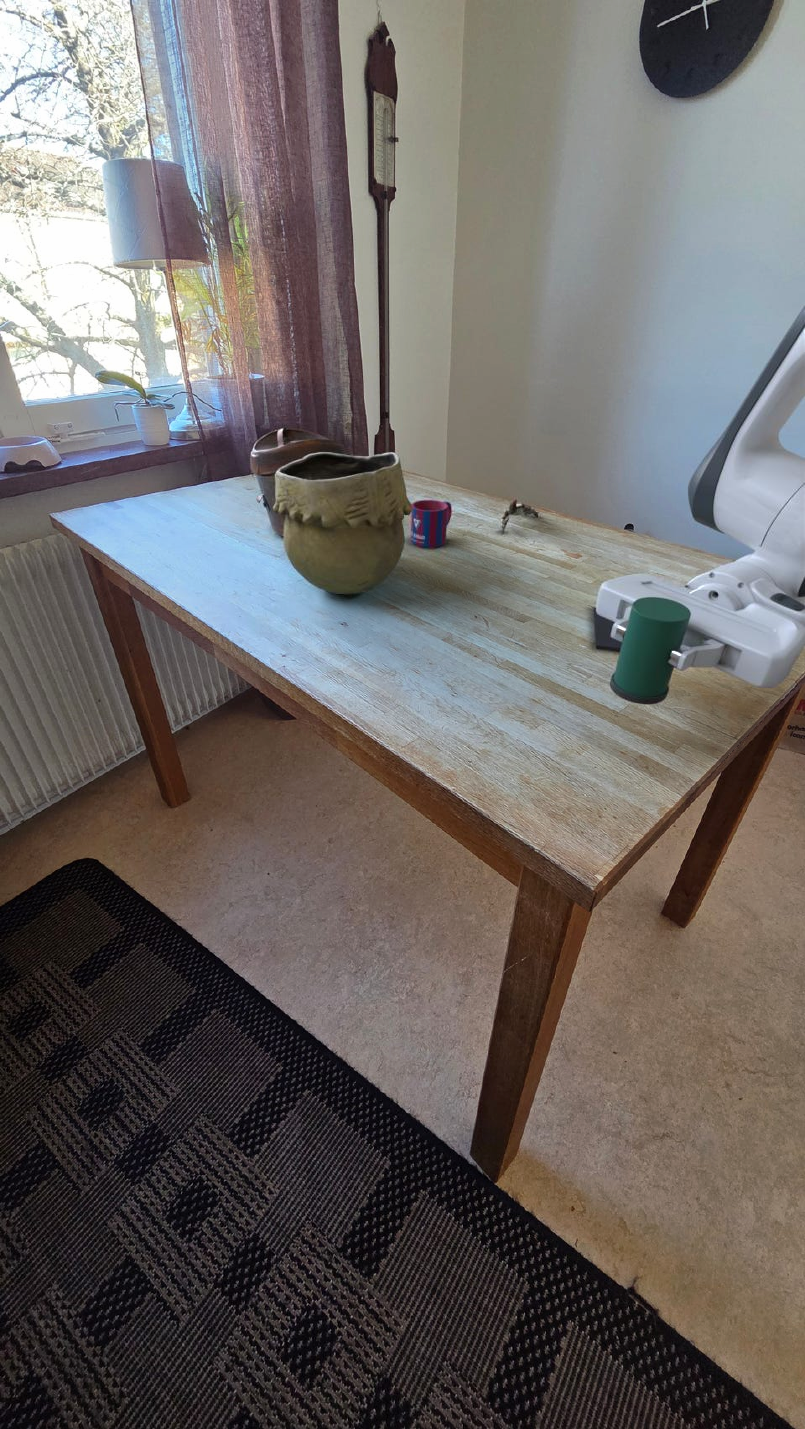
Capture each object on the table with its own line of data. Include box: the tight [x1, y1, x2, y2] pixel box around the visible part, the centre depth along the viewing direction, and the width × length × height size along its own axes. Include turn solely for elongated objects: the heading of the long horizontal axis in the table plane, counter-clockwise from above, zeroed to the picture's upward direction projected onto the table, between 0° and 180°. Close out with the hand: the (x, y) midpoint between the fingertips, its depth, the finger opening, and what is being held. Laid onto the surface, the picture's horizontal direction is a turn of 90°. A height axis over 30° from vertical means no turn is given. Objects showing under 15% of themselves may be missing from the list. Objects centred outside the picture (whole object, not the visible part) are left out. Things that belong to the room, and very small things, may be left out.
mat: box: [592, 606, 623, 652], centre depth 86 cm, size 12×12×1 cm
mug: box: [410, 499, 453, 549], centre depth 113 cm, size 7×10×7 cm
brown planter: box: [249, 426, 348, 537], centre depth 113 cm, size 18×20×18 cm
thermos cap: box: [609, 597, 691, 705], centre depth 59 cm, size 6×6×9 cm
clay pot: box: [273, 452, 412, 595], centre depth 91 cm, size 21×21×20 cm
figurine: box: [499, 499, 540, 533], centre depth 121 cm, size 6×4×15 cm
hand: (646, 646), depth 58 cm, fingers closed on thermos cap, 5 cm apart
